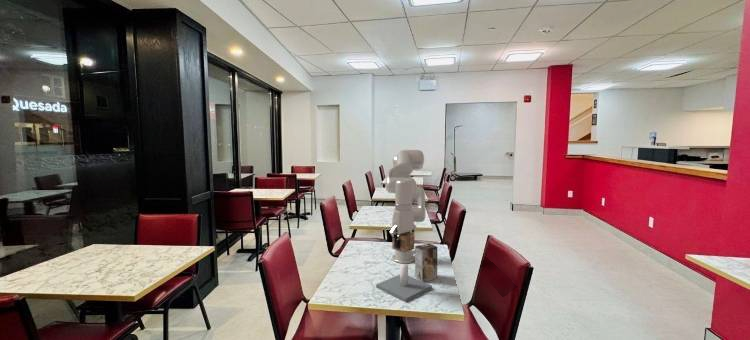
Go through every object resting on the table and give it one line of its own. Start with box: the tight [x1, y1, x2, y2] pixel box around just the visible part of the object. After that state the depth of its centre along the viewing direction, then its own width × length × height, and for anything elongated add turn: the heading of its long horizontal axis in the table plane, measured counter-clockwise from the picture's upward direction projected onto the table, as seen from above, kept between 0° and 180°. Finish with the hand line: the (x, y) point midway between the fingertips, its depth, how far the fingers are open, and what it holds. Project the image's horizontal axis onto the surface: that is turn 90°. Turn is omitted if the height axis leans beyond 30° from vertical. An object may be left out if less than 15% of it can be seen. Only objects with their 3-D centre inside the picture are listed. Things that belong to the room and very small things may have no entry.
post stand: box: [375, 263, 433, 303], centre depth 141 cm, size 18×18×10 cm
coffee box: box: [414, 243, 438, 283], centre depth 152 cm, size 9×6×16 cm
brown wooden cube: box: [391, 232, 415, 253], centre depth 140 cm, size 7×7×7 cm
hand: (403, 245), depth 140 cm, fingers closed on brown wooden cube, 7 cm apart
